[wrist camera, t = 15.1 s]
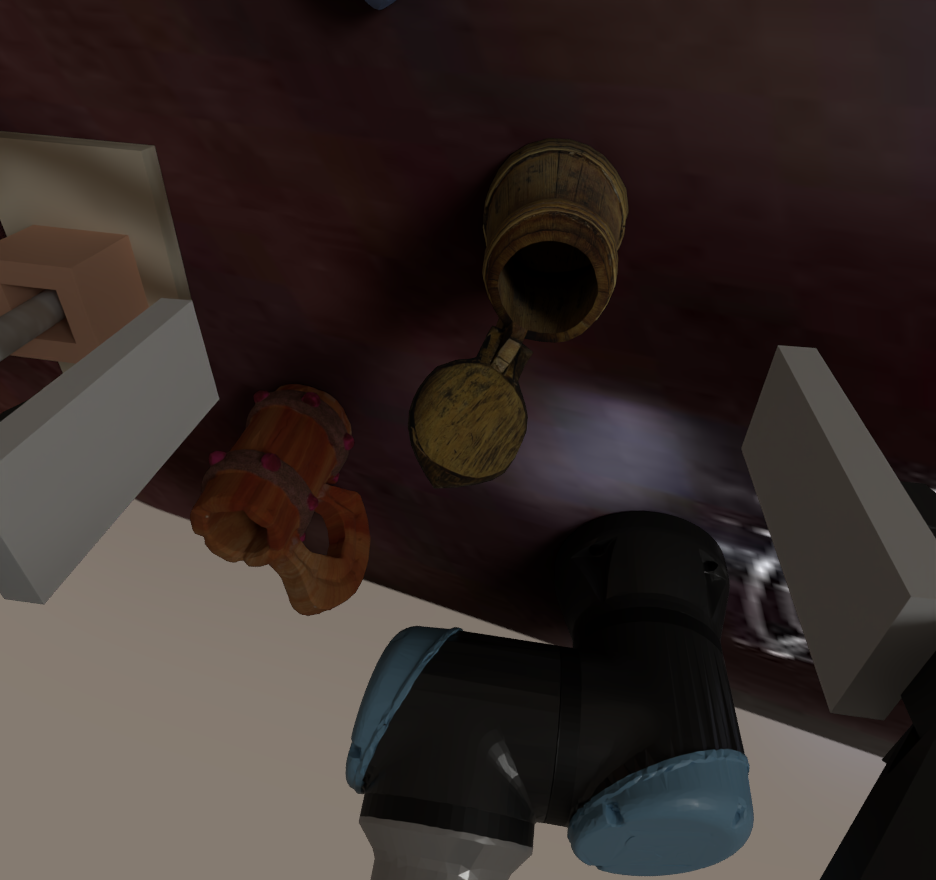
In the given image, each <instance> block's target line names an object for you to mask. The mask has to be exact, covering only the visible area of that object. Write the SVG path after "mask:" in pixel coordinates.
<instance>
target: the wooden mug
mask: <svg viewBox="0 0 936 880" xmlns="http://www.w3.org/2000/svg"><path fill="white" fill-rule="evenodd" d="M627 214H628V202H627V193H626V188H625V186H624V184H623V182H622V180H621V178H620V176H619V174H618V173H617V171H616V170H615V168H614V167H613V166H612V165H611V163H610V162H609V161H608V160H607V159H606V157H605V156H603V155H602V154H600V153H599V152H598V151H596V150H595V149H593V148H592V147H590V146H589V145H586V144H583V143H580V142H577V141H574V140H571V139H553V138H548V139H545V140H541V141H537V142H534V143H530V144H528V145H526V146H524V147H522V148H521V149H519V150H517V151H516V152H514V153H512V154H511V155H510V156H509V158H508V159H507V160H506V161H505V162H504V163H503V165H502V166H501V167H500V168H499V170H498V172H497V174H496V176H495V178H494V179H493V181H492V183H491V185H490V187H489V190H488V194H487V197H486V200H485V207H484V218H483V231H484V236H485V241H486V246H487V247H486V249H485V254H484V261H483V268H482V273H483V279H484V283H485V287H486V291H487V295H488V297H489V300H490V301H491V303H492V305H493V308H494V310H495V311H496V313H497V315H498V317H499V320H498V322H497V325H496V327H495V326H492V327H491V329H490V330H489V332H488V334H487V336H486V339H485V341H484V343H483V345H482V347H481V349H480V351H479V353H478V355H477V357H476V358H471V359H461V360H455V361H452V362H449V363H446V364H443V365H440V366H437V367H436V368H435V369H434V370H433V371H432V372H431V373H430V374H429V375H428V376H427V377H426V379H425V380H424V381H423V383H422V384H421V385H420V387H419V388H418V390H417V392H416V394H415V396H414V398H413V401H412V404H411V407H410V410H409V421H408V430H409V436H410V441H411V446H412V448H413V451H414V454H415V456H416V458H417V460H418V462H419V464H420V466H421V468H422V470H423V471H424V473H425V475H426V477H427V478H428V480H429V481H430V483H431V484H432V486H433V487H434V488H452V487H462V486H469V485H475V484H479V483H483V482H487V481H491V480H493V479H495V478H496V477H498V476H500V475H502V474H503V473H505V471H506V470H507V468H508V467H509V466H510V464H511V463H512V461H513V460H514V459H515V457H516V455H517V452H518V450H519V448H520V445H521V443H522V441H523V438H524V436H525V434H526V430H527V419H528V415H527V410H526V406H525V402H524V399H523V396H522V393H521V390H520V386H519V383H518V380H519V377H520V375H521V373H522V371H523V368H524V366H525V364H526V363H527V361H528V359H529V358H530V356H531V355H532V353H533V352H532V351H531V350H530V349H529V348H527V347H526V346H525V345H524V344H522V343H523V340H524V338H525V339H530V340H535V341H542V342H554V343H555V342H562V341H568V340H570V339H572V338H574V337H576V336H578V335H580V334H582V333H583V332H584V331H585V330H586V329H587V328H589V327H590V326H591V325H592V323H593V322H594V321H595V320H597V319H598V317H599V316H600V314H601V313H602V311H603V310H604V308H605V307H606V305H607V304H608V302H609V299H610V297H611V294H612V292H613V289H614V287H615V284H616V278H617V270H618V254H617V252H618V249H619V247H620V244H621V241H622V239H623V236H624V229H625V220H626V217H627Z"/></svg>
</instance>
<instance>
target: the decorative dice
mask: <svg viewBox="0 0 936 880" xmlns="http://www.w3.org/2000/svg"><path fill="white" fill-rule="evenodd" d="M365 1H366V2H367V3H368V4H369V5H370V6H371V7H373V8H375V9H378V10H381V9H384V8H386V7H387V6H389V5H390V4H392V3H393V2H395V1H396V0H365Z"/></svg>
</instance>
